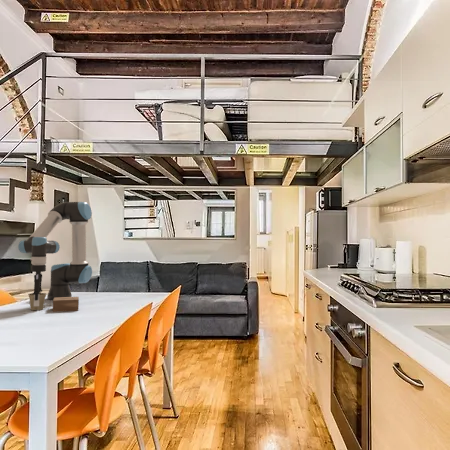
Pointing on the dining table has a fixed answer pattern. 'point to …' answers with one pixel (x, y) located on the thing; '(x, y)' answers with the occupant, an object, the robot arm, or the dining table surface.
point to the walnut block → (65, 304)
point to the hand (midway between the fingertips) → (37, 304)
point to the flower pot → (41, 301)
